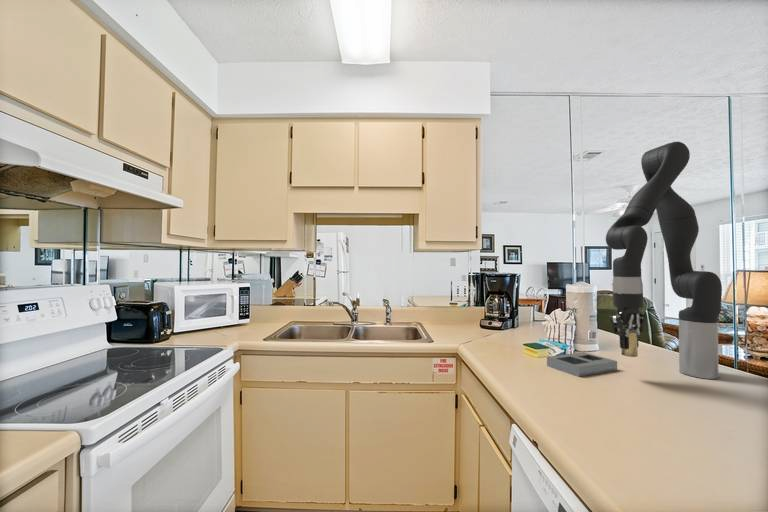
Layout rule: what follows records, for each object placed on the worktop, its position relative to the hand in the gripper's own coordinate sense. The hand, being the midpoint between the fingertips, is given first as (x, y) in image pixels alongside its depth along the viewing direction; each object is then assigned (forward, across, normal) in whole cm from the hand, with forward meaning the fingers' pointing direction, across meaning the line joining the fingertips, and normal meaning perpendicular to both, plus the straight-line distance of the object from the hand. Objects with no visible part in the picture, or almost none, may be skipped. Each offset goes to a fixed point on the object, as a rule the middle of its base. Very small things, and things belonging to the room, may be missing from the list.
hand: (629, 347), depth 102 cm
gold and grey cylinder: (+2, 0, 0) cm, 2 cm away
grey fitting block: (+10, +3, -13) cm, 17 cm away
